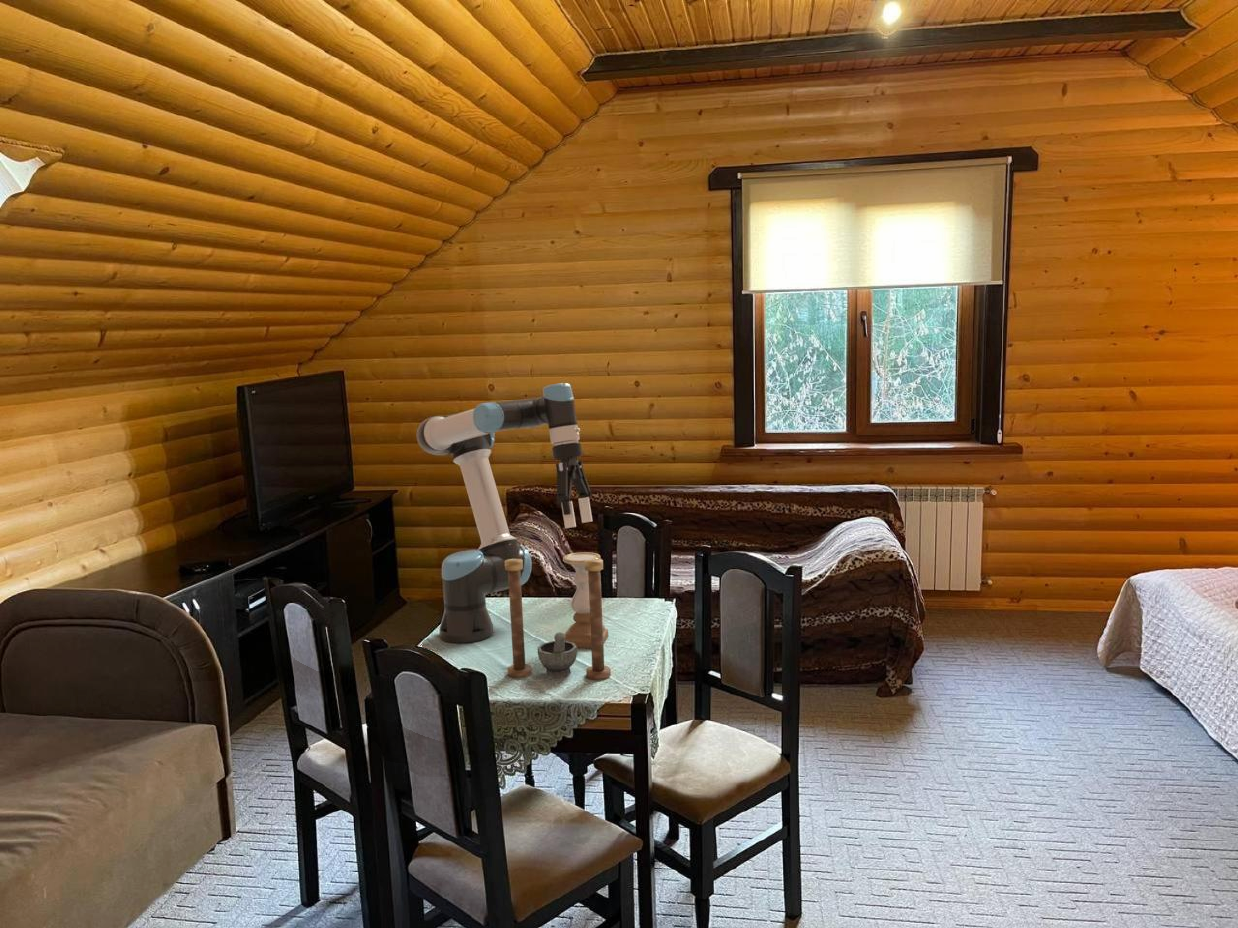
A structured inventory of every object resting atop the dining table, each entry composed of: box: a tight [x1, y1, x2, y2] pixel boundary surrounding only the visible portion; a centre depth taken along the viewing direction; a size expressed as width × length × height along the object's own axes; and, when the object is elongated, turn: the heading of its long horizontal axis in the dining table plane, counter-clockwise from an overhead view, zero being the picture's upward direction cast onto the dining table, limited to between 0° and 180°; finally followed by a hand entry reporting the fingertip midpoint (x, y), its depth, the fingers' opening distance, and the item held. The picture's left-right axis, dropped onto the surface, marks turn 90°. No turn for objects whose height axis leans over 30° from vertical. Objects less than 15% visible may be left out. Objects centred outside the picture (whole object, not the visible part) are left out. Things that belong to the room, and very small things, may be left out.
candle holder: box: [562, 551, 609, 649], centre depth 254 cm, size 11×11×24 cm
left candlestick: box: [505, 559, 533, 679], centre depth 231 cm, size 6×6×29 cm
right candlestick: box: [585, 558, 612, 681], centre depth 228 cm, size 6×6×29 cm
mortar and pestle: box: [537, 632, 578, 679], centre depth 231 cm, size 11×9×12 cm
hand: (579, 524), depth 241 cm, fingers open, 13 cm apart
